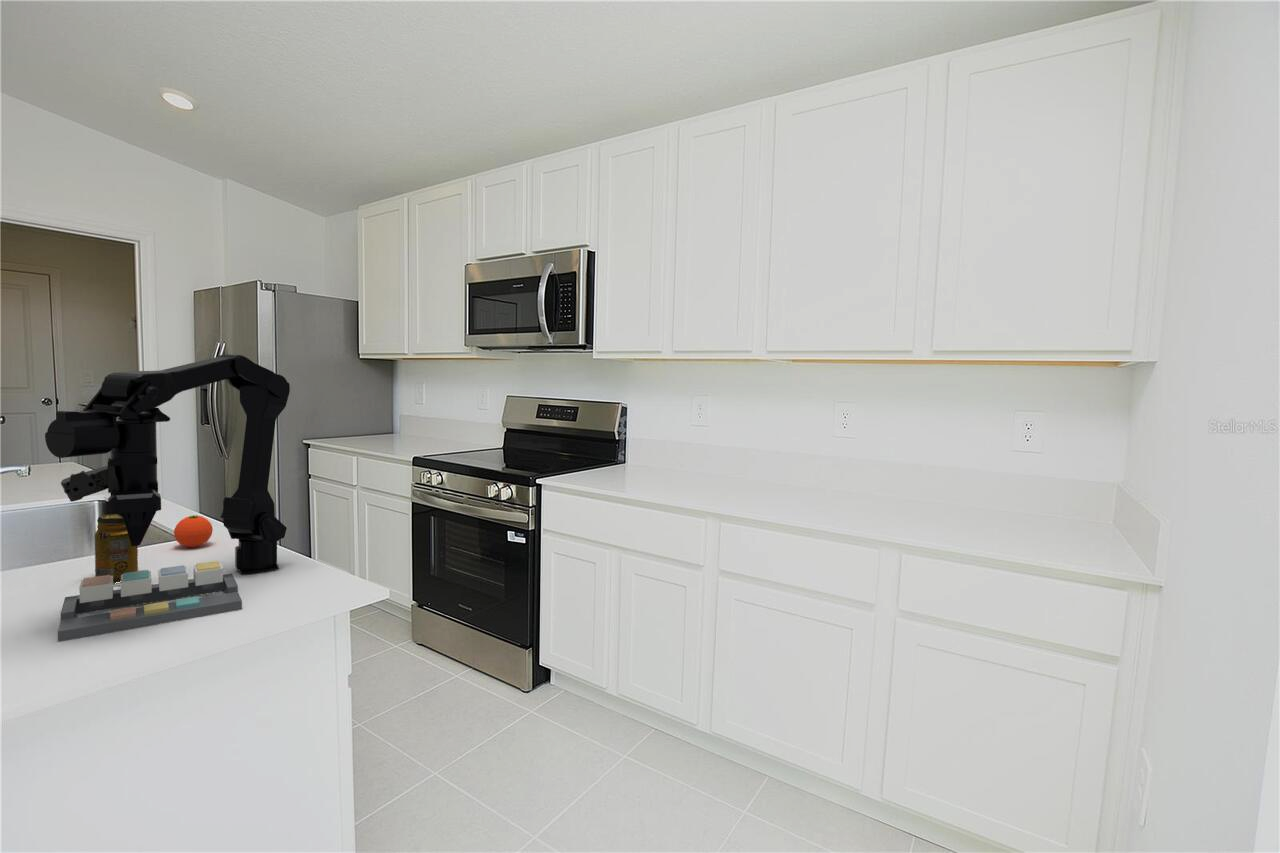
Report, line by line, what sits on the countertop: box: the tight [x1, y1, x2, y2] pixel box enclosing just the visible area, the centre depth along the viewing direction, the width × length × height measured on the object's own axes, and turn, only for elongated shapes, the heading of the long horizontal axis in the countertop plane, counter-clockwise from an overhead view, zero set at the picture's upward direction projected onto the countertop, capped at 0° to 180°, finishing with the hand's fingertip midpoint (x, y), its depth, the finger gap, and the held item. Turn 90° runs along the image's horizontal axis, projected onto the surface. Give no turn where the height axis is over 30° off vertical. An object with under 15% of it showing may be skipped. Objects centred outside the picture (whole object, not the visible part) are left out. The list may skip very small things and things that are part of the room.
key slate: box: [157, 564, 189, 595], centre depth 101 cm, size 4×4×4 cm
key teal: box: [120, 569, 153, 601], centre depth 98 cm, size 4×4×4 cm
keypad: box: [57, 572, 243, 642], centre depth 99 cm, size 22×13×2 cm, turn 130°
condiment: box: [93, 513, 144, 587], centre depth 111 cm, size 7×8×12 cm
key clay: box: [78, 575, 114, 607], centre depth 95 cm, size 4×4×4 cm
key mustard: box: [193, 560, 224, 590], centre depth 104 cm, size 4×4×4 cm
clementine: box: [173, 514, 214, 548], centre depth 133 cm, size 8×7×7 cm
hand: (135, 545), depth 98 cm, fingers closed
